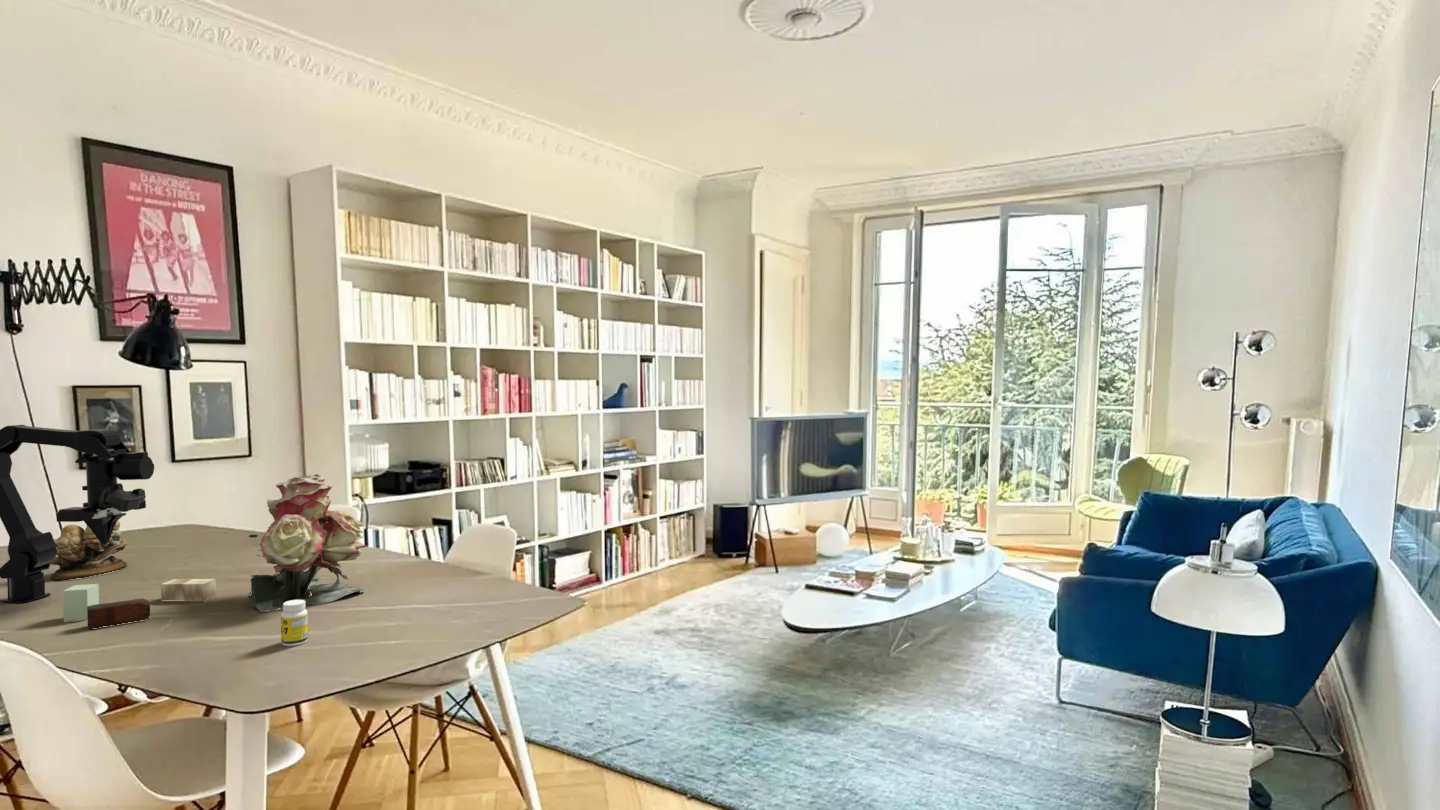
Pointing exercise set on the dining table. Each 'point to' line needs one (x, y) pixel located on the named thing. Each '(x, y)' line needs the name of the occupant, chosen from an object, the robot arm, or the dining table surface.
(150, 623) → the dining table surface
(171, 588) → the maple block
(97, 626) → the brick
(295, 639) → the supplement bottle
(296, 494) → the rose bouquet
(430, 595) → the dining table surface
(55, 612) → the dining table surface
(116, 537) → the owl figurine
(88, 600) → the sage block
